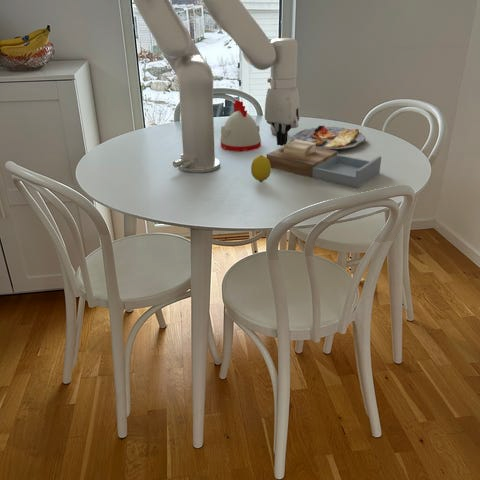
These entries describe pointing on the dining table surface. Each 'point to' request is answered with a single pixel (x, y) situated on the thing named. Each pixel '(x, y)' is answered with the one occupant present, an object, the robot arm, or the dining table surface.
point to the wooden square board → (299, 161)
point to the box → (347, 170)
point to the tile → (299, 148)
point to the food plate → (330, 137)
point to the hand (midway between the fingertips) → (281, 144)
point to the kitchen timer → (240, 131)
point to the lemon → (261, 168)
